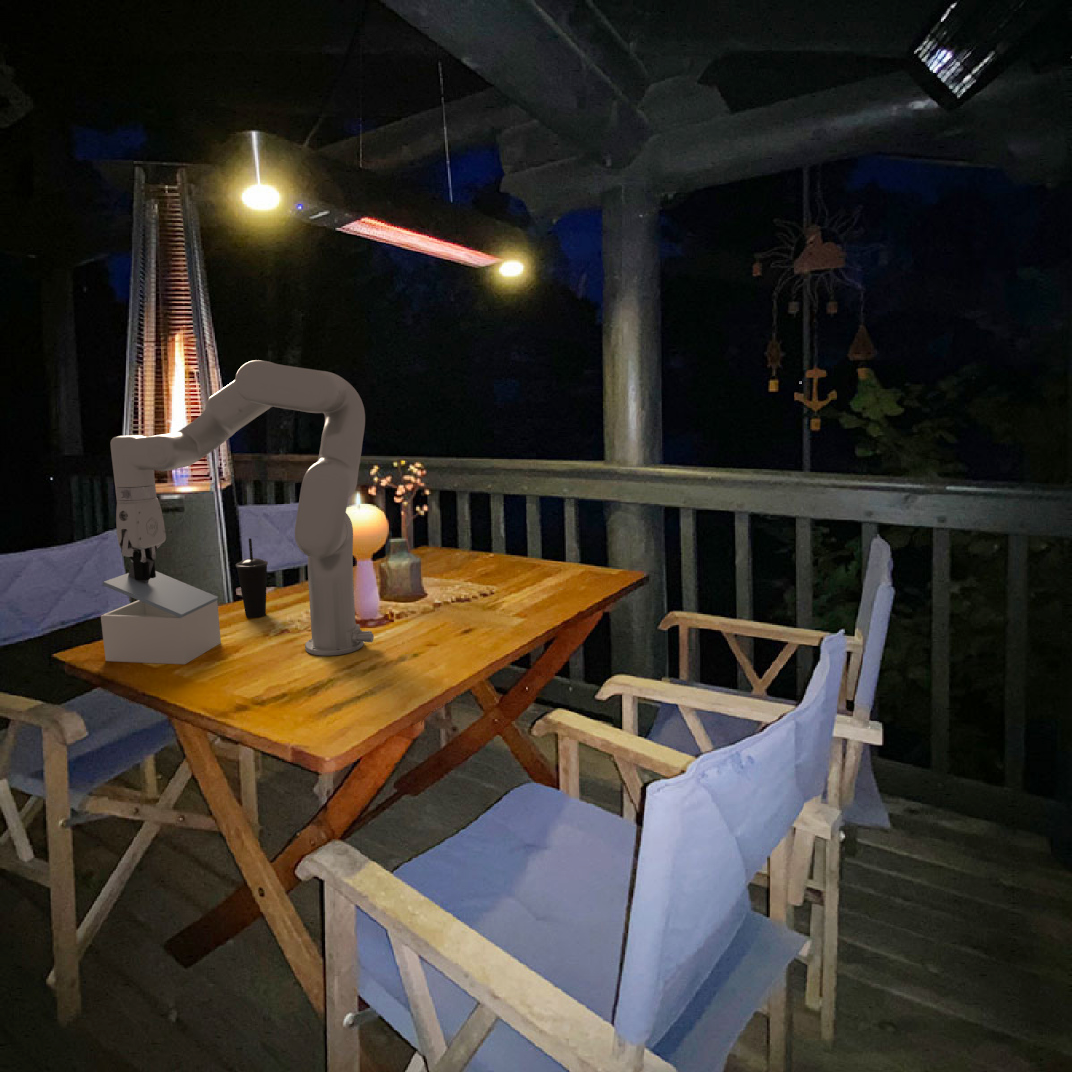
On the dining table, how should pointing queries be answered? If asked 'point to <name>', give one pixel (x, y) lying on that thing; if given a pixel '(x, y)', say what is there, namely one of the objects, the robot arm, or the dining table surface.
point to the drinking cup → (253, 584)
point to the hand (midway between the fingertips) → (145, 578)
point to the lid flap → (162, 592)
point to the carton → (159, 634)
